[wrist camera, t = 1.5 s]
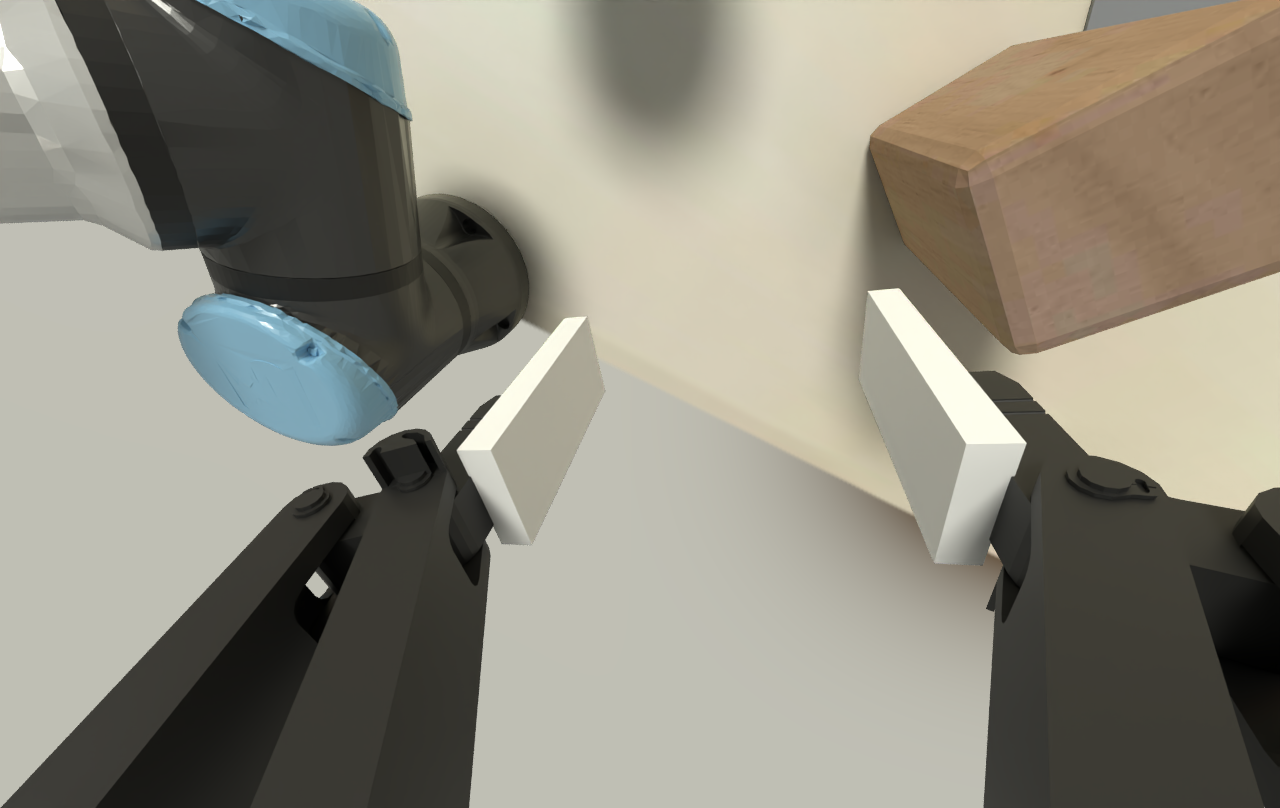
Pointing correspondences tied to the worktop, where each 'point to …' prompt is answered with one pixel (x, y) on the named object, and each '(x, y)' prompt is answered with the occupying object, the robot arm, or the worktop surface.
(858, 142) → the worktop surface
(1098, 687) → the robot arm
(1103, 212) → the wooden block
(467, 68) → the worktop surface
